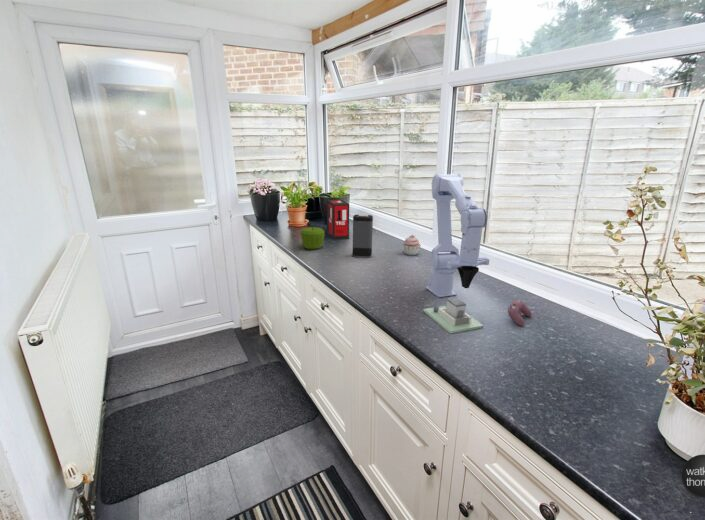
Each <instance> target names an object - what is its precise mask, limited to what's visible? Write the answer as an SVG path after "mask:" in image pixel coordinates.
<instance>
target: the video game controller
mask: <svg viewBox="0 0 705 520" xmlns="http://www.w3.org/2000/svg"><path fill="white" fill-rule="evenodd" d="M507 314H508V316H509V317H510V319H512V321H513V322H515V324H516V325H518V326H519V327H520V326H521V327H524V326H525V325H526V323H525V320H524V319H523V317H522V315H524V316H526V317H528V318H530V317H532V316H533V313H532V310H530V309H529V308H528V307H527V306H526V304H525V303H524V302H523V301H522V300H513V301H512V302H511V303H510V305H509V306H508V308H507Z"/></svg>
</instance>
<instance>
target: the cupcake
mask: <svg viewBox="0 0 705 520" xmlns="http://www.w3.org/2000/svg"><path fill="white" fill-rule="evenodd" d="M402 246H403V250H404V251H403V252H404V254H405V255H407V256H416V255H418V252H419V250H420V249H421V247H422V246H421V244H420V242H419V239H418V238H417V237H416V236H415V235H414V234H411V235H409V236H408V237H406V238H405V240H404V242H403V243H402Z"/></svg>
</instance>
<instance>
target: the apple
mask: <svg viewBox="0 0 705 520" xmlns="http://www.w3.org/2000/svg"><path fill="white" fill-rule="evenodd" d="M300 236H301V238H300V239H301V242H302V246H303V247H304V248H305V249H307V250H309V249H310V250H312V251H313V250H314V251H315V250H318V249H320V248H321V247H322V246H323V245H324V240H325V236H326V235H325V230H324V229H323V228H321V227H318V226H317V227H313V226H311V227H310V226H308V227H305V228H303V229H301V231H300ZM310 250H309V251H310Z"/></svg>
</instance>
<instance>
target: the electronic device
mask: <svg viewBox="0 0 705 520" xmlns="http://www.w3.org/2000/svg"><path fill="white" fill-rule="evenodd" d="M373 218H374V216H373V215H371V214H367V215H360V214H354V215H353V216H352V257H353V258H365V257H366V259H367V258H369V257H370V258H372V255H373V253H372V251H373V224H374V223H373V221H374V219H373Z"/></svg>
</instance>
